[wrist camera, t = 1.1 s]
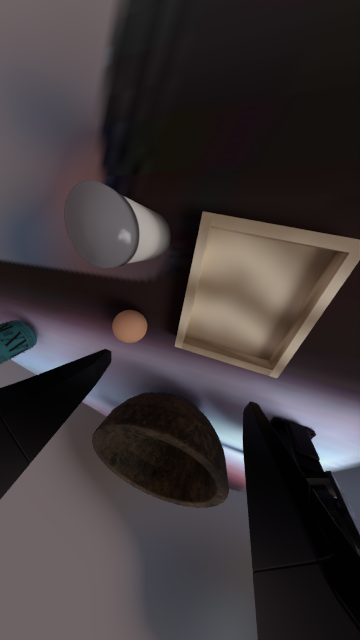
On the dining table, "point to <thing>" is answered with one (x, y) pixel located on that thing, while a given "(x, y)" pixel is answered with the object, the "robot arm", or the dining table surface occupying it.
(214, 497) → the bowl
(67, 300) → the dining table surface
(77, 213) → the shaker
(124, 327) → the ball
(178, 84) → the dining table surface
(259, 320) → the tray
